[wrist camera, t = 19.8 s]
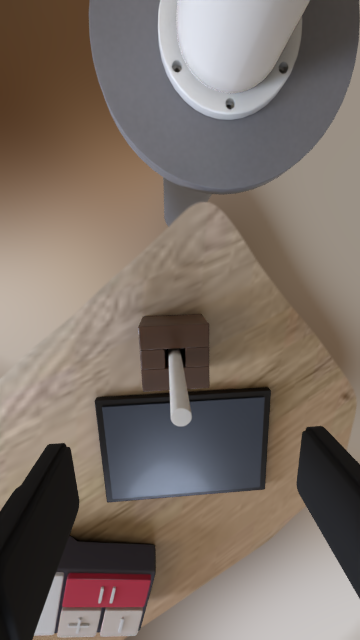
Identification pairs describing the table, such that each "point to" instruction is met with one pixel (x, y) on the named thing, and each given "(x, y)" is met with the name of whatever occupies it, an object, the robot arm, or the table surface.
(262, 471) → the tablet
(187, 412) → the stylus
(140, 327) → the pen stand
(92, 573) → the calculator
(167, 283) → the table surface
